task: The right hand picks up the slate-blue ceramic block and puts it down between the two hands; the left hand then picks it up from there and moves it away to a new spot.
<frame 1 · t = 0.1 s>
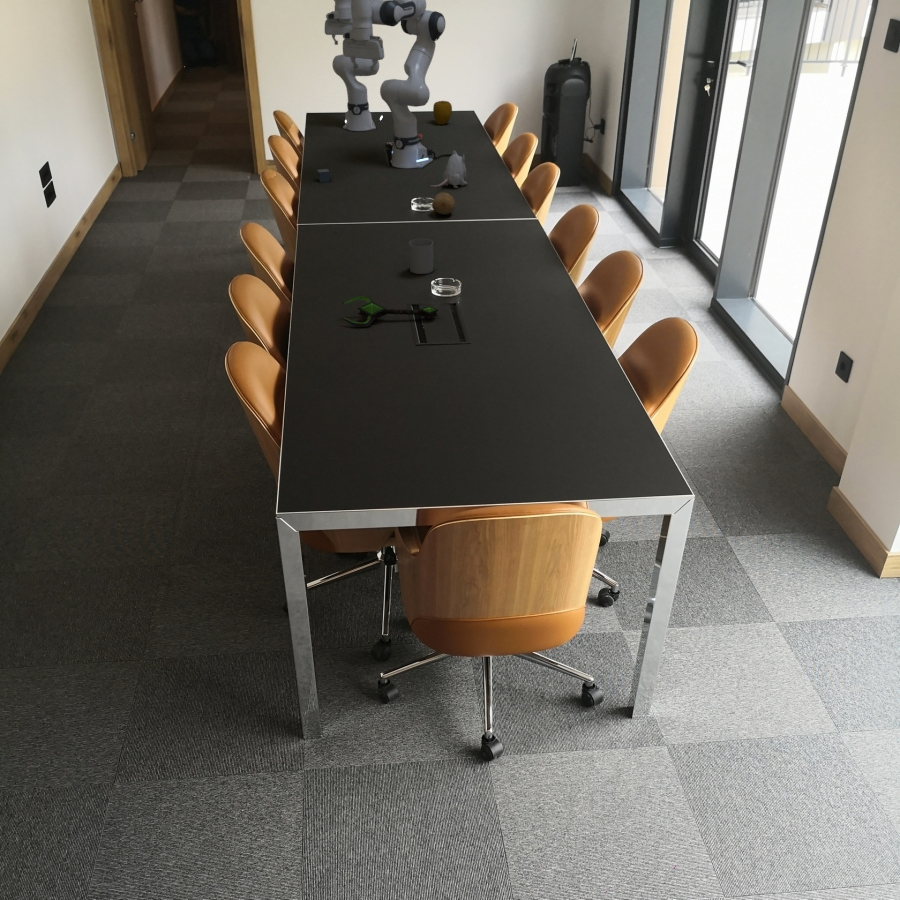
left hand: (345, 44, 443), 48 cm above the table, tool pointing down, fingers open, 8 cm apart
right hand: (364, 69, 380), 48 cm above the table, tool pointing down, fingers open, 8 cm apart
toy: (447, 188, 394), on the table
cup: (421, 270, 308), on the table
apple: (442, 124, 504), on the table
potato: (443, 213, 363), on the table
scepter: (390, 319, 272), on the table
block: (324, 180, 405), on the table
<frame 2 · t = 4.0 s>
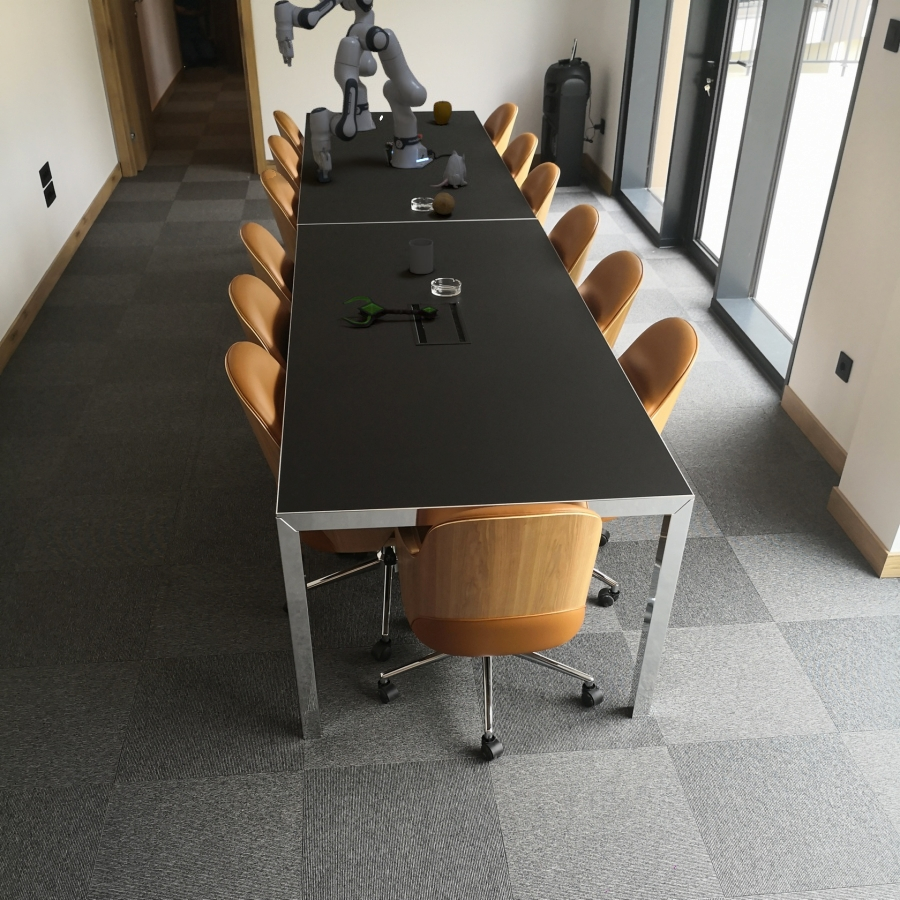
left hand: (287, 65, 453), 37 cm above the table, tool pointing down, fingers open, 8 cm apart
right hand: (323, 176, 404), 2 cm above the table, tool pointing down, fingers closed on block, 4 cm apart
block: (324, 180, 405), on the table, touching right hand
everything else where it was.
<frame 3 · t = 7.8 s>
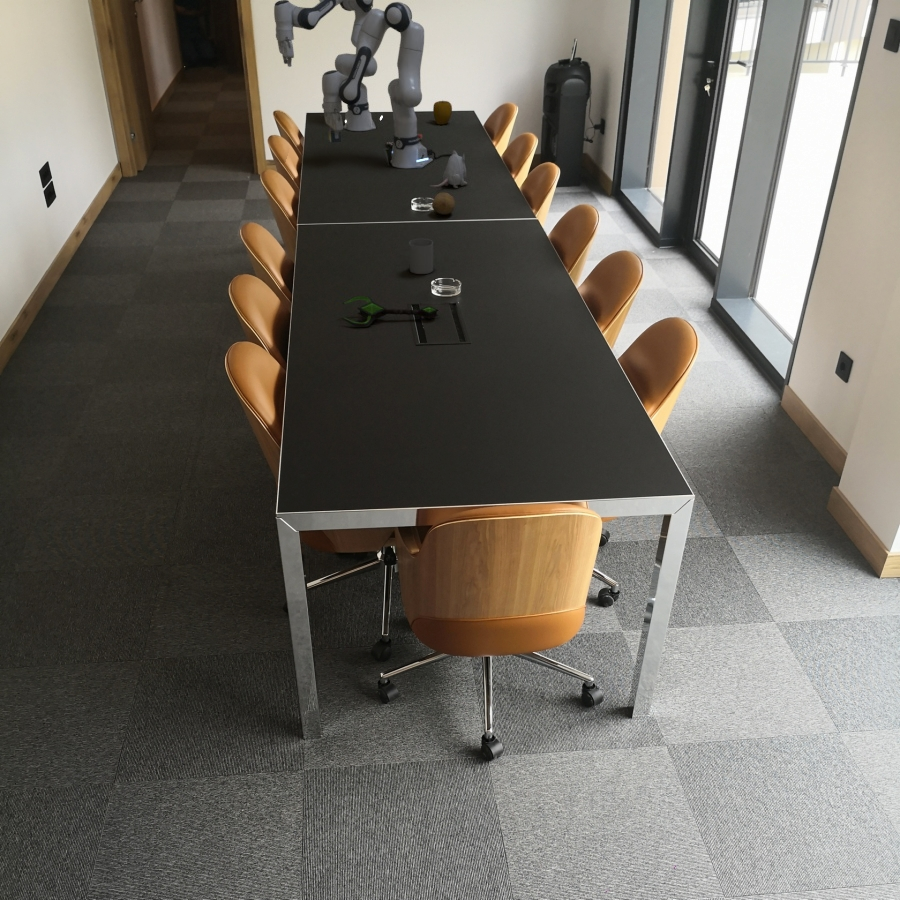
left hand: (287, 65, 453), 37 cm above the table, tool pointing down, fingers open, 8 cm apart
right hand: (334, 137, 424), 13 cm above the table, tool pointing down, fingers closed on block, 4 cm apart
block: (335, 141, 425), point 11 cm above the table, touching right hand
everything else where it was.
when the right hand's fingers open (3 cm above the table, at t = 11.6 s): block stays where it is, on the table.
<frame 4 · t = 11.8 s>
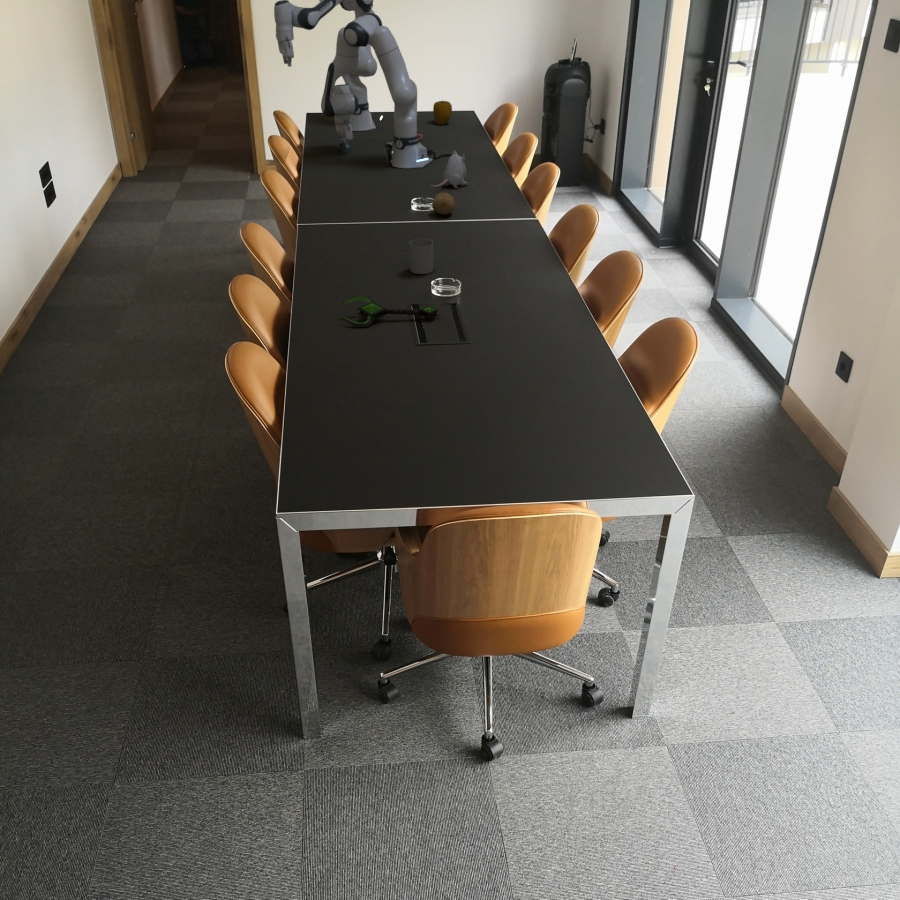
left hand: (287, 65, 453), 37 cm above the table, tool pointing down, fingers open, 8 cm apart
right hand: (345, 145, 449), 3 cm above the table, tool pointing down, fingers open, 6 cm apart
block: (345, 151, 451), on the table
everything else where it was.
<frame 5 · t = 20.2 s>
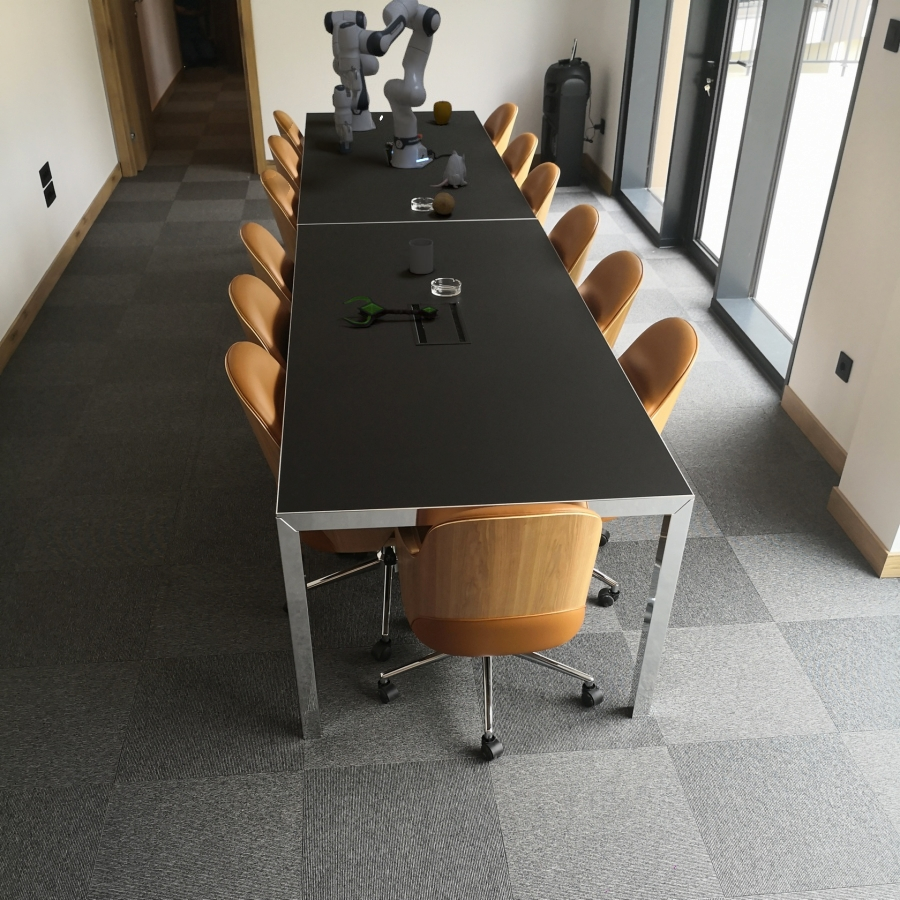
left hand: (345, 147, 450), 2 cm above the table, tool pointing down, fingers closed on block, 4 cm apart
right hand: (351, 99, 378), 38 cm above the table, tool pointing down, fingers open, 8 cm apart
block: (345, 151, 451), on the table, touching left hand
everything else where it was.
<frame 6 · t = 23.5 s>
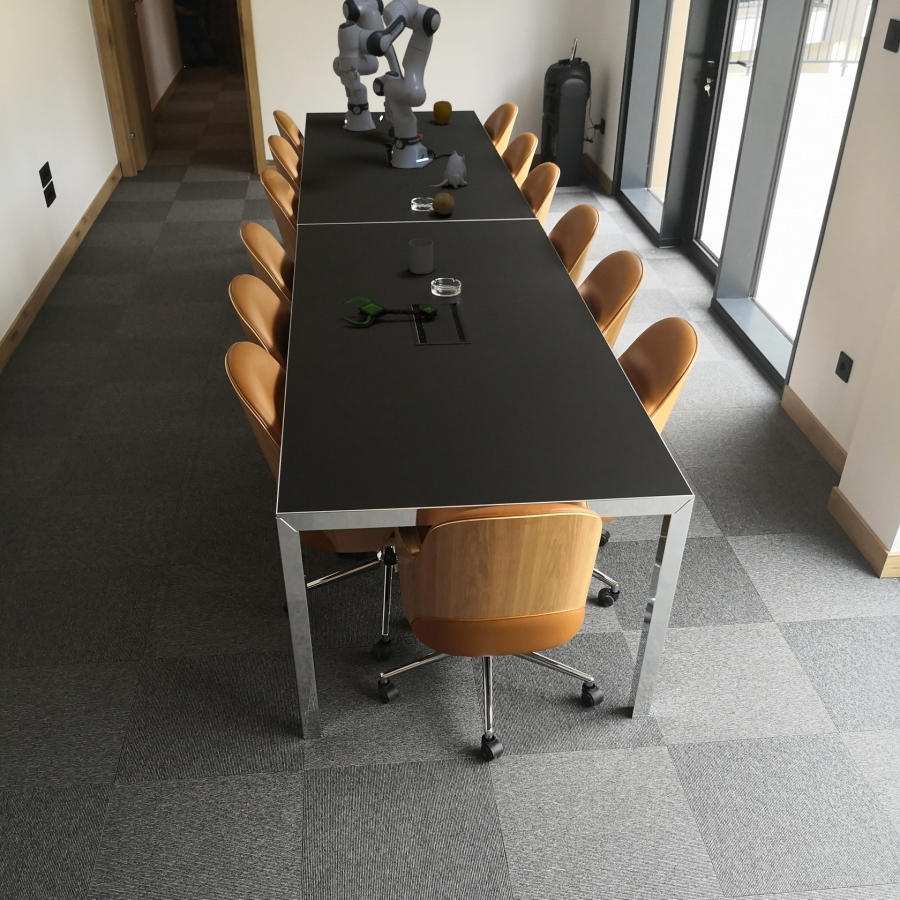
left hand: (394, 132, 463), 6 cm above the table, tool pointing down, fingers closed on block, 4 cm apart
right hand: (351, 99, 378), 38 cm above the table, tool pointing down, fingers open, 8 cm apart
block: (394, 136, 464), point 3 cm above the table, touching left hand
everything else where it was.
when the left hand's fingers open (3 cm above the table, at t = 27.0 s): block stays where it is, on the table.
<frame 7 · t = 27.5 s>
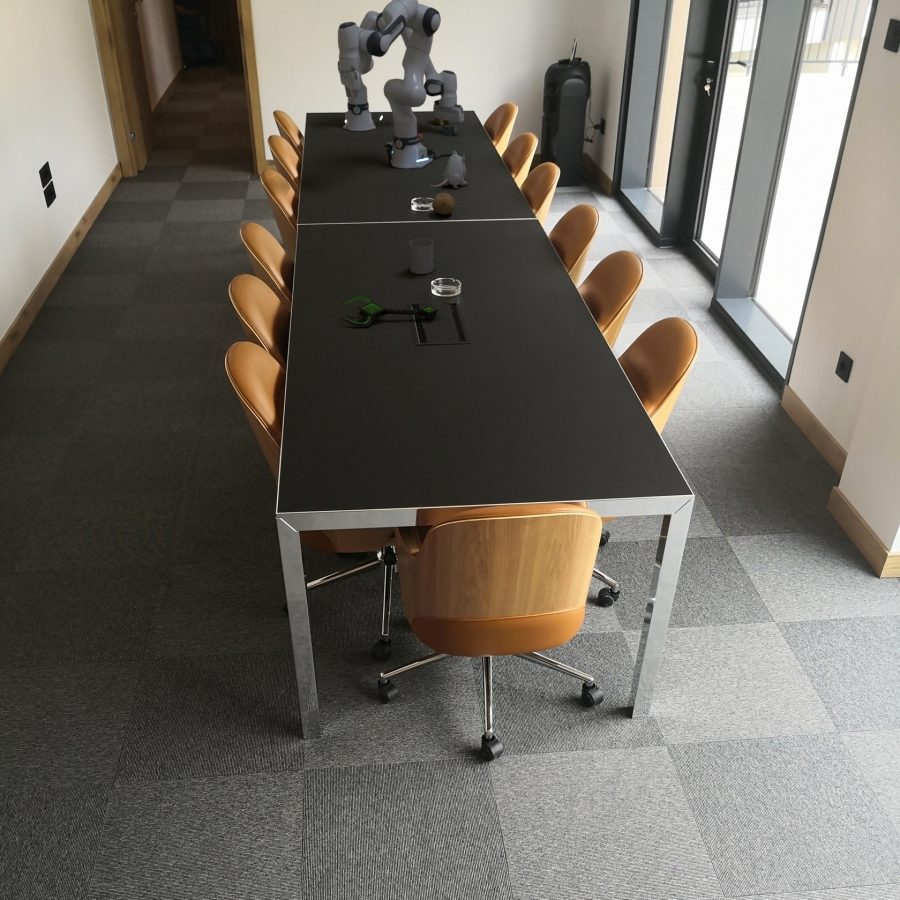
left hand: (448, 128, 482), 3 cm above the table, tool pointing down, fingers open, 8 cm apart
right hand: (351, 99, 378), 38 cm above the table, tool pointing down, fingers open, 8 cm apart
block: (448, 134, 483), on the table
everything else where it was.
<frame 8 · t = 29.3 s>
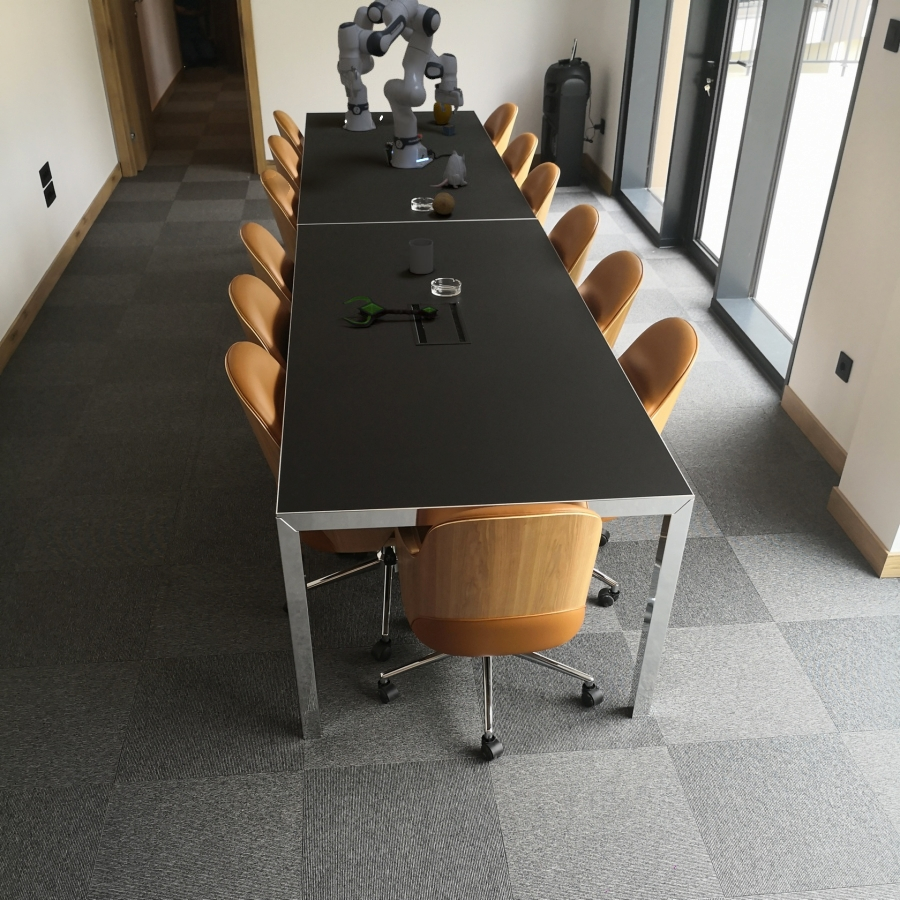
left hand: (449, 112, 477), 11 cm above the table, tool pointing down, fingers open, 8 cm apart
right hand: (351, 99, 378), 38 cm above the table, tool pointing down, fingers open, 8 cm apart
nothing on the table moved.
at the end: block inside the target area (0.2 cm from its centre), on the table; block tilted 0°; the two hands never held the block at the same time; the left hand is holding nothing; the right hand is holding nothing; block at rest at the end (0.0 cm/s) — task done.
